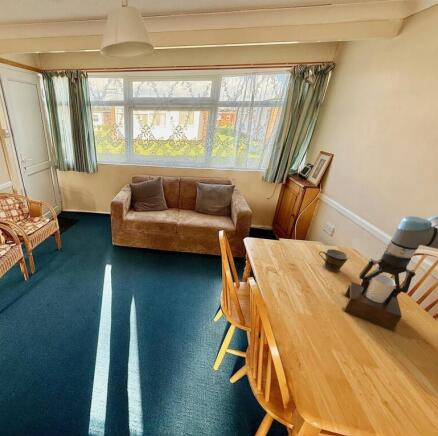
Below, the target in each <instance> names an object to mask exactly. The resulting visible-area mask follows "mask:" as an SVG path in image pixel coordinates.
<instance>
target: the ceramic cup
mask: <svg viewBox="0 0 438 436" xmlns="http://www.w3.org/2000/svg"><path fill="white" fill-rule="evenodd" d="M321 253H323V254H324V256H325V258H324V257H323V256H322V255H321ZM318 255H319V256H320V257H321V258H322V260H323V261H324V268H325V270H328V271H330V272H334V273H337V272H339V271H340V270H341V269H342V267H343V266H344V265H345V264H346V263H347V261H348V259H349V255H348V254H347V253H345V252H344V251H341V250H338V249H333V248H329V249H326V251H322V250H321V251H319V252H318Z"/></svg>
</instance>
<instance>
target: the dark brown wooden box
mask: <svg viewBox="0 0 438 436" xmlns="http://www.w3.org/2000/svg"><path fill="white" fill-rule="evenodd" d="M362 288H363V287H361V283H357V282H354V281H350V283H349V284H348V287H347V288H346V290H345V293H344V296H345V297H347V298H349V299H348V300H347V303H346V305H345V307H344V309H343V311H344V312H346V313H348V314H351V315H353V316H355V317H358V318H361V319H362V320H365V321H368V322H371V323H373V324H376V325H379V326H381V327H384V328H387V329H389V330H391V331H394V329H395V328H396V326H398V323H399V322H400V321H401V319H402V317H403V314H402V311H401V307H400V302H399V299H398V296H397V297H396V298H395V297H392V299H391V301H390V302H389V303H386V301H385V302H383V303H378V302H375V301H372V300H370V299H369V298H367V297H366V296H365V293H364V294H361V290H362Z"/></svg>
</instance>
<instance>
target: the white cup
mask: <svg viewBox="0 0 438 436" xmlns="http://www.w3.org/2000/svg"><path fill="white" fill-rule="evenodd" d="M395 287H396V285H395V280H394V278H391V277H390V276H387V275H385V274H382V273H381V274H379V275H377V276H376V277H374V278H373V277H372V279H371V280H369V285H368V287H367V289H366V291H365V296H366V297H367V298H369V299H370V300H372V301H375V302H378V303H383V302H385V301H386V299H387V298H388V297H389V295H390V294H391V293H392V291H393V290H394V288H395Z"/></svg>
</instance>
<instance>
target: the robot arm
mask: <svg viewBox="0 0 438 436" xmlns="http://www.w3.org/2000/svg"><path fill="white" fill-rule="evenodd" d="M420 246H424V247H428V248H431V249H436V250H438V215H433V216H430V217H428V218H427V219H426V218H422V217H419V216H409V215H408V216H404V217H403V218H402V219H401V221H400V222H399V223H398V225H397V226H396V229H395V231H394V233H393V235H392V237H391V239H390V241H389V243H388V245H387V247H386V248H385V251H384V252H383V254H382V256H381V257H380V259H378V260H375V259H373V258H369V259H368V263H367V264H366V265H365V267H364V268H363V269H362V271H361V272H360V273H359V274H358V278H359V279H360V280H362V281H361V282H360V285H361V287H363V288H362V290H361V294H364V293H365V291H366V289H367V287H368V285H369V280H371V279H372V277H373V278H374V277H376V276H377V275H379V274H381V275H382V274H383V273H385V274H389V275H392V276H393V280H394V281H395V285H396V287H395V288H394V290H393V291H392V293H391V294H390V295H389V297H388V298H387V299H386V303H389V302H390V301H391V299H392V297H395V298H396V297H397V298H398V295H399V294H401V293H404V294H407V293H408V292H409V289H410V286H411V283H412V280H413V278H414V277H415V276H416V271H415V270H414V269H409V268H407V267H408V266H409V264H410V262H411V260H412V258H414V255H415V253H416V252H417V250H418V249H419V247H420ZM376 265H378V266H377V268H376V269H375V270H373V271H371V270H372V268H373V267H374V266H376ZM370 271H371V272H370ZM369 272H370V273H369ZM402 273H405V277H404V281H403V284H402V287H401V285H400V274H402Z"/></svg>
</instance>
